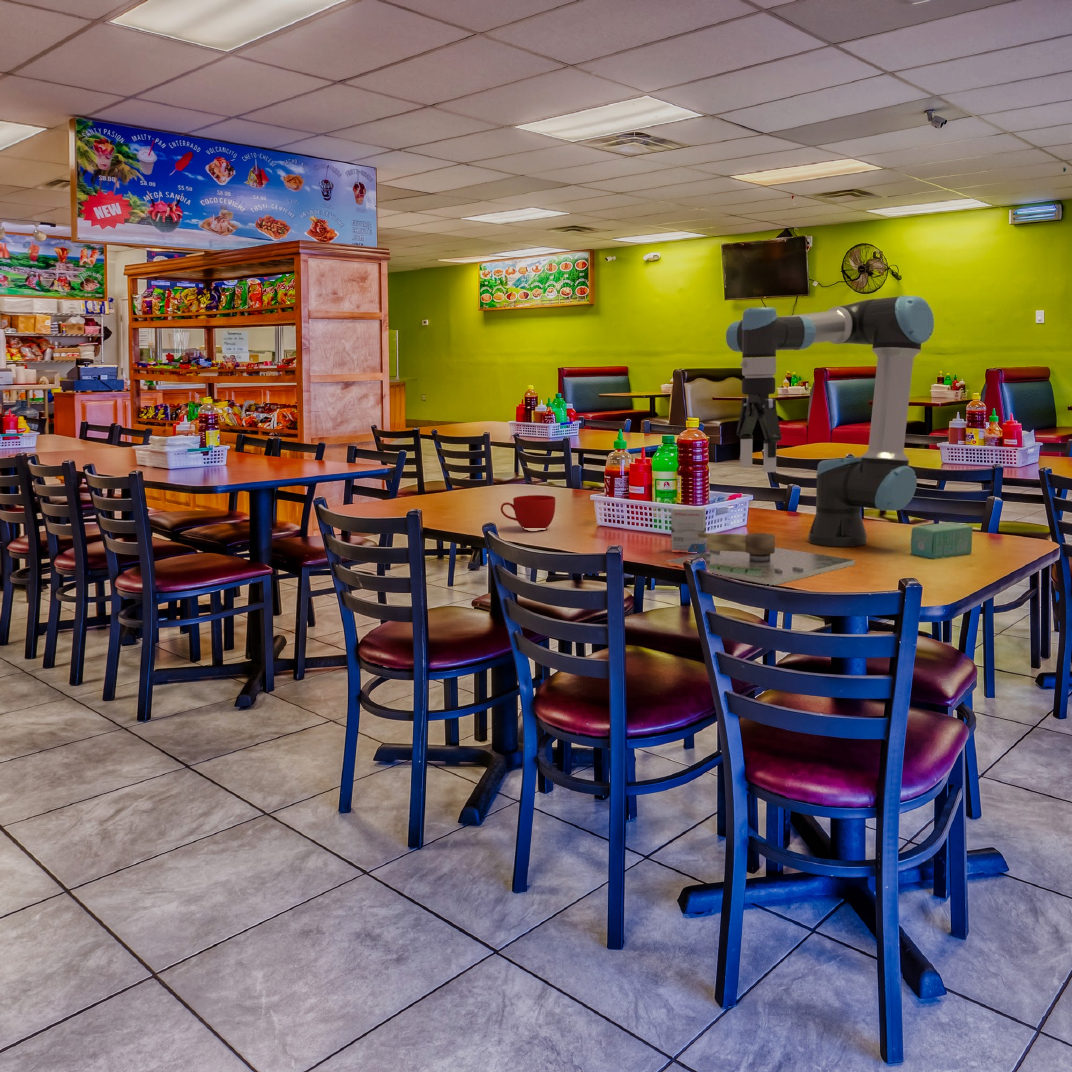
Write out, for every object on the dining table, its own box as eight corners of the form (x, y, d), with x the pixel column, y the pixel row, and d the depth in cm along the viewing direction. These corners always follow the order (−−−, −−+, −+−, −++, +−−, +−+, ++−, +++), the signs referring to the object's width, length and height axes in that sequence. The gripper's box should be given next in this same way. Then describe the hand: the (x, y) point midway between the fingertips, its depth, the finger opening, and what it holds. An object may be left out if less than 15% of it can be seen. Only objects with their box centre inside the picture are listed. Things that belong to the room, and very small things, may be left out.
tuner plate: (748, 547, 254) (748, 536, 254) (854, 564, 230) (855, 552, 229) (666, 565, 234) (666, 553, 234) (772, 585, 210) (773, 572, 209)
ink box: (706, 550, 252) (706, 507, 250) (703, 554, 247) (703, 509, 245) (674, 549, 255) (674, 506, 253) (670, 552, 250) (670, 508, 248)
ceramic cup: (499, 528, 296) (498, 496, 295) (553, 525, 298) (552, 494, 296) (502, 535, 284) (501, 502, 282) (558, 532, 286) (558, 499, 284)
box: (909, 554, 240) (910, 525, 239) (948, 549, 246) (950, 521, 244) (931, 559, 234) (933, 530, 232) (971, 554, 239) (973, 525, 238)
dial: (776, 549, 233) (776, 533, 233) (772, 555, 227) (773, 538, 226) (700, 546, 240) (701, 531, 239) (695, 551, 234) (695, 535, 233)
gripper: (723, 377, 228) (722, 464, 232) (765, 377, 204) (764, 475, 208) (752, 376, 229) (751, 463, 233) (798, 376, 205) (796, 473, 209)
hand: (757, 469), depth 220 cm, fingers open, 13 cm apart
